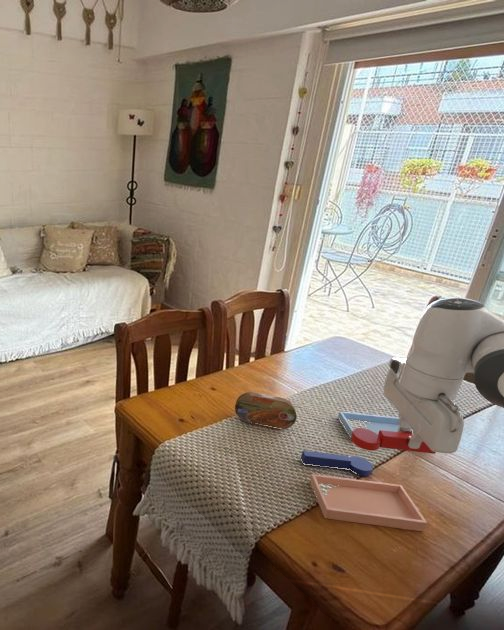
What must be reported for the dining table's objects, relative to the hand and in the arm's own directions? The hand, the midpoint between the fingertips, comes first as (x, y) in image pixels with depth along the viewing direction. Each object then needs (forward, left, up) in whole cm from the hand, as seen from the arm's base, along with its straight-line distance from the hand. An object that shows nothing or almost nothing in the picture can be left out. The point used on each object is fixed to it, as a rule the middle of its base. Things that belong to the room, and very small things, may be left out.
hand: (407, 440), depth 88 cm
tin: (+21, -23, -15) cm, 35 cm away
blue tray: (-9, -24, -15) cm, 30 cm away
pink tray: (+6, +3, -15) cm, 16 cm away
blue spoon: (+7, -9, -15) cm, 19 cm away
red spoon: (+3, 0, -2) cm, 3 cm away
